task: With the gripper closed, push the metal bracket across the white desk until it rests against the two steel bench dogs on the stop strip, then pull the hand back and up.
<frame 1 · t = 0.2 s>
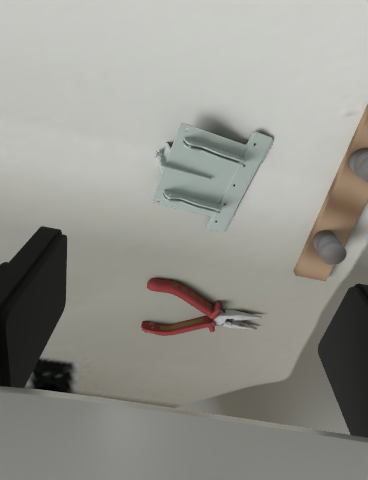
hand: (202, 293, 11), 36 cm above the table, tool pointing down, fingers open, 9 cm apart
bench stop: (343, 200, 48), on the table
metal bracket: (205, 170, 47), on the table
pliers: (193, 313, 60), on the table
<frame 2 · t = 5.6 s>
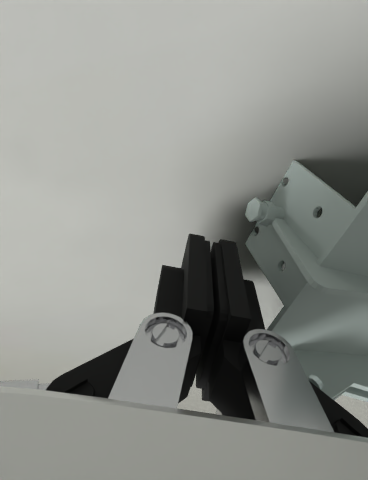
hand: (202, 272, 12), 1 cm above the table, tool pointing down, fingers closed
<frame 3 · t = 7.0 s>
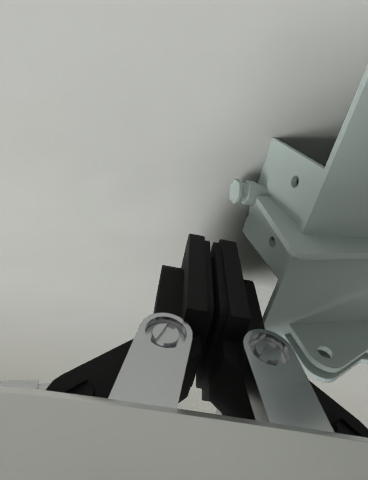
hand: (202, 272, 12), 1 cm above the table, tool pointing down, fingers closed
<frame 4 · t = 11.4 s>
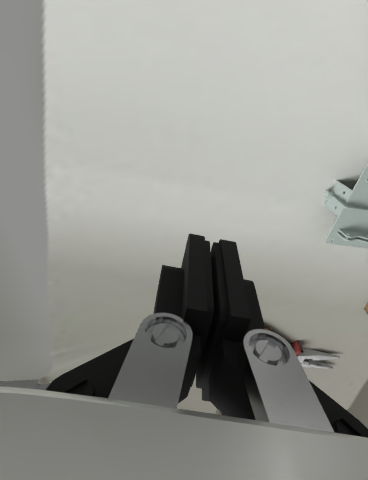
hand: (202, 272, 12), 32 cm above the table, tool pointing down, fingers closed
pliers: (268, 351, 60), on the table
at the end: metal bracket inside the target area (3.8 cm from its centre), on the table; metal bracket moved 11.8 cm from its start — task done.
